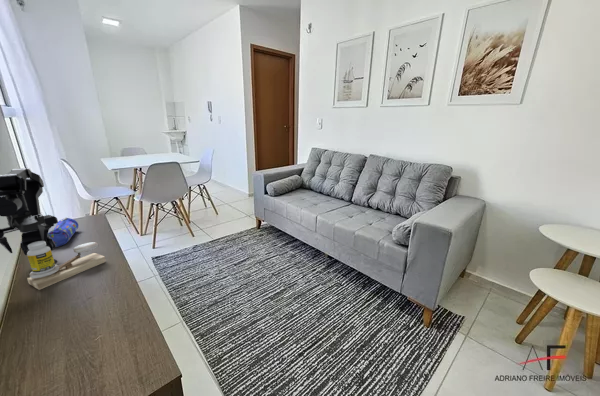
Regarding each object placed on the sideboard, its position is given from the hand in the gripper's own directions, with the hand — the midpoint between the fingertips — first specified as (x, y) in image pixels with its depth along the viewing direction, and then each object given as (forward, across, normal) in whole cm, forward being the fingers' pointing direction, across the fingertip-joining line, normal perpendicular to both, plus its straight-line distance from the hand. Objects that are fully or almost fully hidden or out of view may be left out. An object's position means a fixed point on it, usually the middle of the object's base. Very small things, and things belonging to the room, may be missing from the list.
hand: (28, 247), depth 95 cm
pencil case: (+13, +23, +33) cm, 42 cm away
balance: (+13, +7, -7) cm, 16 cm away
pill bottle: (+8, 0, -7) cm, 11 cm away
